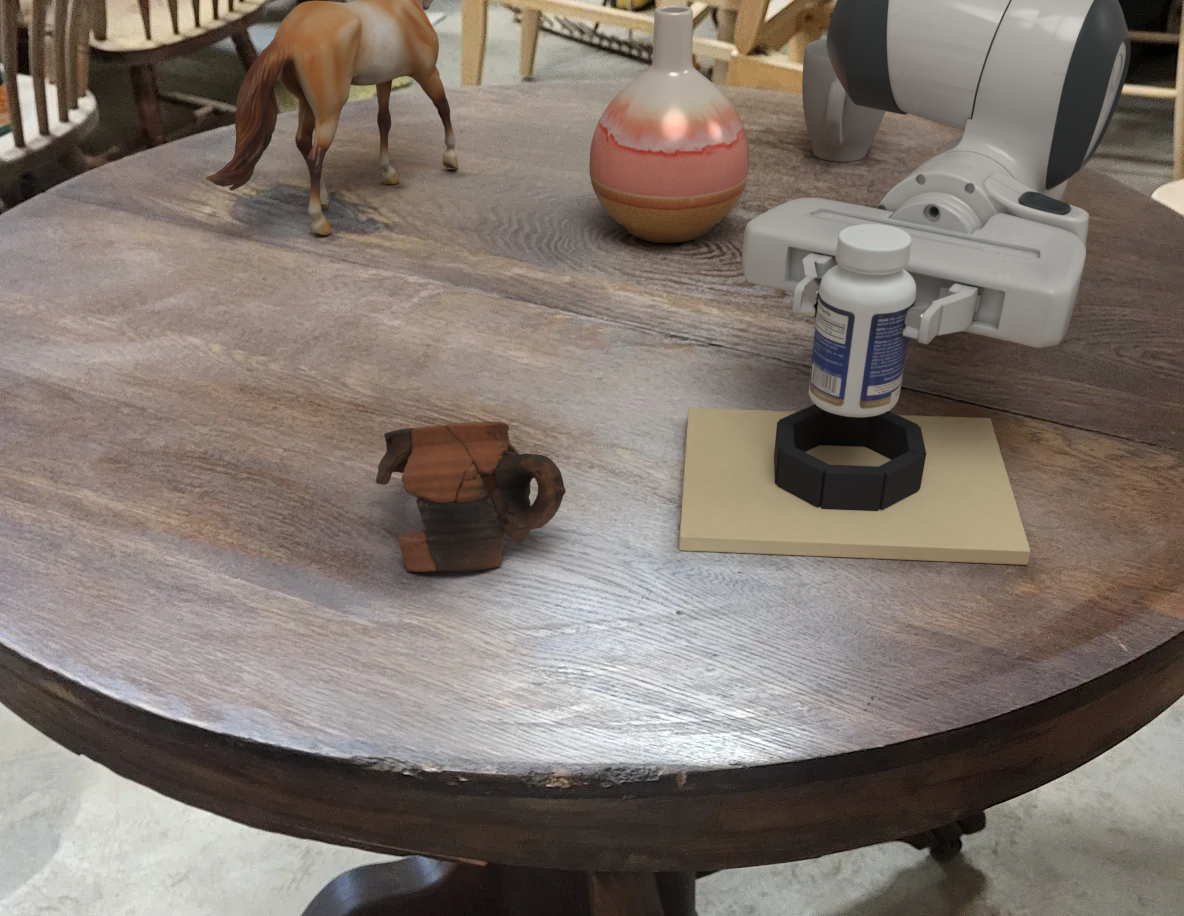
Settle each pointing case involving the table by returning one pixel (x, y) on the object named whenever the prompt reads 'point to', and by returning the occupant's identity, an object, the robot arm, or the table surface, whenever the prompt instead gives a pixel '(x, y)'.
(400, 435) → the pottery mug
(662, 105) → the vase
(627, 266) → the table surface
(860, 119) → the mug
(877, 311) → the pill bottle
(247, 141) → the horse figurine
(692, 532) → the socket pad
